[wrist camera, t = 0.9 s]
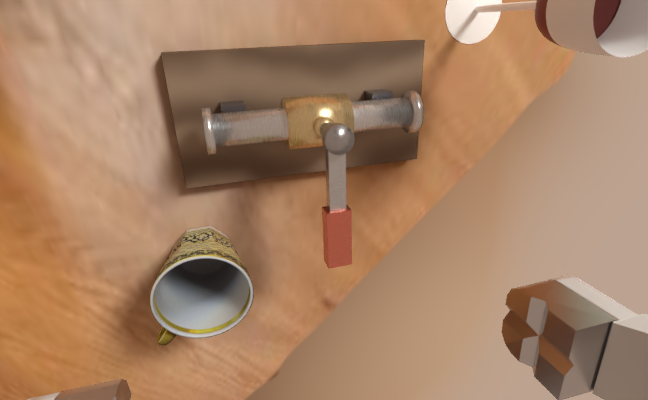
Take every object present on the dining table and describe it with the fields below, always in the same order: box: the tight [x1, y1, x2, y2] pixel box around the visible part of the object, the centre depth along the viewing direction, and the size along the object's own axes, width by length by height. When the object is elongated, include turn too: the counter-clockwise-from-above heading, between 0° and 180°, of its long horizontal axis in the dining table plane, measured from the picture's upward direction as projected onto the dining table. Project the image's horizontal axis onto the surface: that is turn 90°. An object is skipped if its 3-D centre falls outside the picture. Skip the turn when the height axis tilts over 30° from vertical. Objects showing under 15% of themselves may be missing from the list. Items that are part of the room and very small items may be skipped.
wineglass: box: [445, 0, 648, 57], centre depth 37 cm, size 8×9×20 cm
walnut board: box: [161, 40, 425, 188], centre depth 44 cm, size 14×28×2 cm, turn 94°
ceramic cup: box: [150, 226, 254, 345], centre depth 44 cm, size 13×10×10 cm
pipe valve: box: [201, 89, 424, 155], centre depth 40 cm, size 5×22×8 cm, turn 94°
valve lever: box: [320, 122, 355, 268], centre depth 37 cm, size 14×3×4 cm, turn 4°
